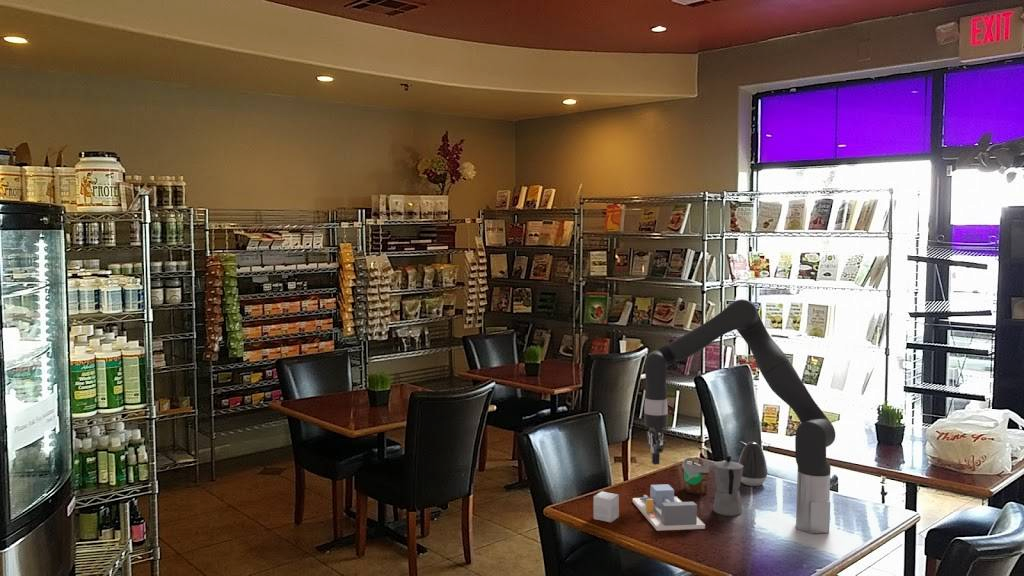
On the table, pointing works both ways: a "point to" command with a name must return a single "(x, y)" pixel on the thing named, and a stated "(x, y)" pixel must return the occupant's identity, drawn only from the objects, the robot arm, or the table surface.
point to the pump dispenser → (753, 464)
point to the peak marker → (649, 505)
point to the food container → (695, 476)
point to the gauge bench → (658, 522)
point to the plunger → (660, 494)
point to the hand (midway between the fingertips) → (655, 463)
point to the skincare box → (606, 506)
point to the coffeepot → (727, 487)
